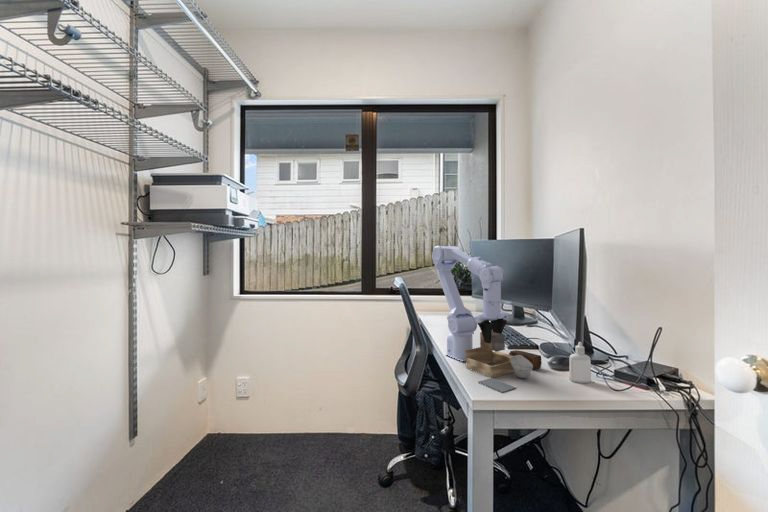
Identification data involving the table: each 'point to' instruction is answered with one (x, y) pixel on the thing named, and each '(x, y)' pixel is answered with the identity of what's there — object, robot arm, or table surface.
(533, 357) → the brick
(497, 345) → the box
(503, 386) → the mat
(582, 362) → the eye dropper bottle
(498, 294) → the robot arm
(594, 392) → the table surface
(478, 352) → the carton
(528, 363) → the grey faceted rock
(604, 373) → the table surface
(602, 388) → the table surface
